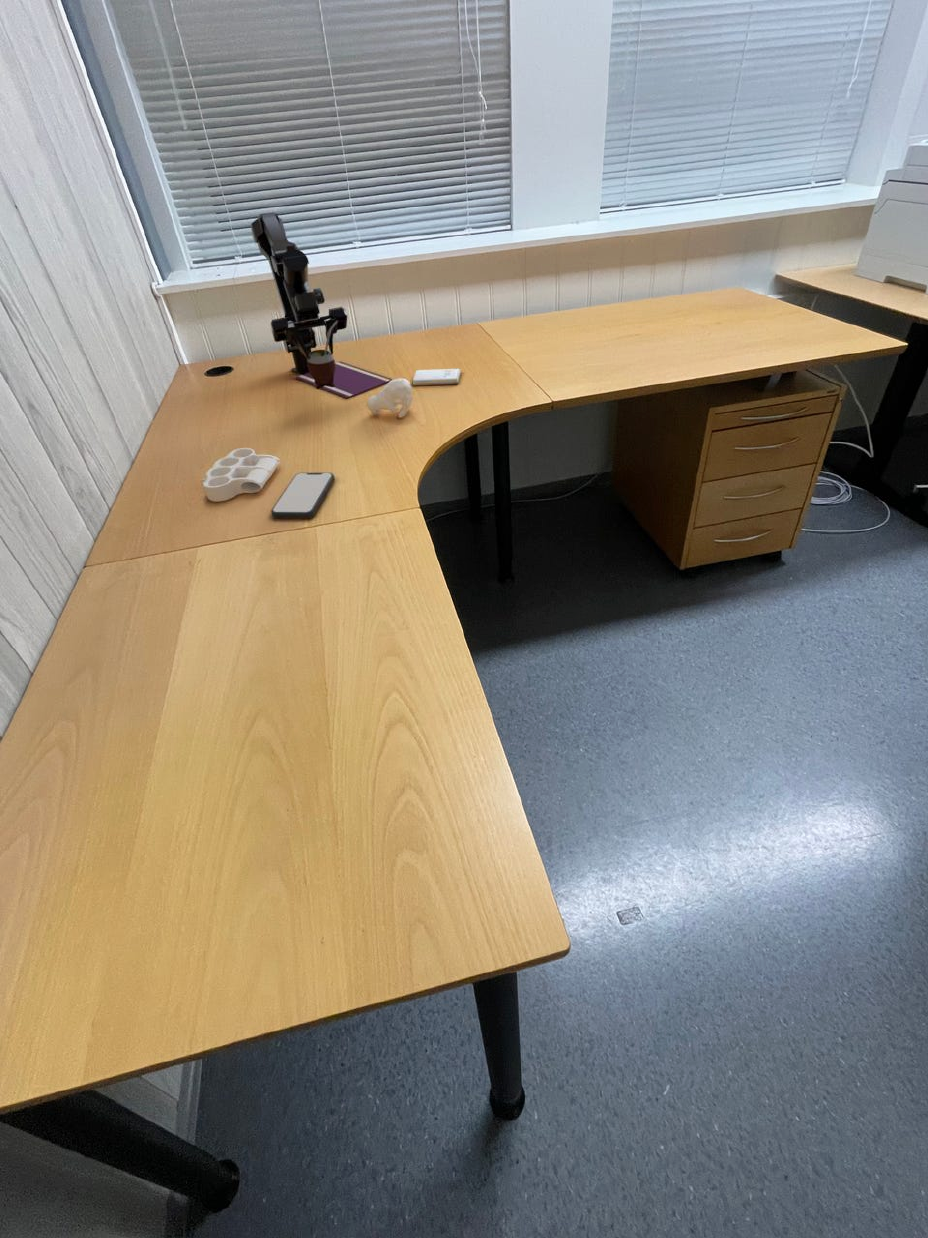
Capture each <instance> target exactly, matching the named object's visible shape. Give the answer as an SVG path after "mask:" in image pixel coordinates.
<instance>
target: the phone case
mask: <svg viewBox="0 0 928 1238" xmlns="http://www.w3.org/2000/svg"><path fill="white" fill-rule="evenodd" d="M334 481H335V474H334V473H333V472H298V473H296V474H295V475H294V476H293V477H292V479H291V481H290V482H289V484H287V487H286V488H285V489H284V491H283V492H282V494H281V495H280V497H279V499H278V500H277V501H276V503H275V504H274V506H273V507H272V509H271V511H270V512H271V515H272V517H273V518H274V519H301V520H302V519H304V520H305V519H311V518H313V517H314V516H315V515H316V513H317V511H318V509H319V508H320V506H321V504H322V503H323V501H324V499H325V497H326V495H327V494H328V492H329V490H330V489H331V487H332V485H333V483H334Z"/></svg>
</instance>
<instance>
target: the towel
mask: <svg viewBox="0 0 928 1238" xmlns="http://www.w3.org/2000/svg"><path fill="white" fill-rule="evenodd" d="M335 366H336V369H335V374H334V381H333V384H334V385H335V387H329V386H324V387H322V388H320V389H321V390H323V391H327V392H328V393H331V394H334V395H336V396H339V397H341V398H343V399H346V400H348V399H350V398H354V397H355V396H358V395H361V394H364V393H365V392H368V391H370V390H373V389H376V388H379V387H381V386H383V385H384V386H385V385H386V384H388V383H389V382H390V381H391V380H394V379H392V378H389V377H387V376H384V375H380V374H378V373H374V372H372V371H369V370H366V369H363V368H361V367H357V366H354V365H352V364H348V363H345V362H342V361H338V362H335ZM295 379H296V380H298V381H301V382H303V383H306V384H308V385H310V386H314V387H315V388H316V387H317V385H316V383H315V382H314V381H315V380H314V379H313V378H312V376H311V375H310V373H306V374H303V375H302V374H299V375H298V376H296V377H295Z"/></svg>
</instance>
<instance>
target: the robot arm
mask: <svg viewBox="0 0 928 1238" xmlns="http://www.w3.org/2000/svg"><path fill="white" fill-rule="evenodd" d="M250 229H251V230H250V231H251V236H252V238H253V241H254V243H255V244H257V248H258V250H259V252H260V254H262V255H263V257H265V258H266V259H267V261H268V264H269V268H270V270H271V274H272V277H273V281H274V284H275V288H276V290H277V294H278V296H279V297H278V298H279V300H280V301H279V302H280V304H281V307H282V311H283V314H284V317H280V318H275V319H271V321H270V327H271V328H270V330H271V334H272V337H273V340H274V342H276V343H279V342H283V345H284V349H285V351H286V352H287V353H288V354H291V356H292V359H293V363H294V367H291V371H292V372H295V373H297V374H299V375H304V374H307V373H309V370H308V367H307V359H309V353H310V352H312V351H313V350H312V349H316V348H317V339H316V331H315V330H314V329H313V328H318V327H323V326H324V327H325V337H326V338H325V339H327V333H328V331H329V329H330V328H331V326H332V325H333V324H334V323H335V322H336V321H338V322H337V324H336V325H335V326H334V327H333V329H332V330H331V334H330V337H329V343H328V349H329V350H328V351H329V352H330V353H331V354H332V355H334V334H337V333H338V331H340V330H345V329H346V328H347V327H348V326H347V325H348V314H347V311H346V309H345V308H344V307H343V306H339V307H338V306H337V307H334V308H328V315H324V316H323V315H322V316H319V314H320V312H321V311H320V308H319V305H322V304H324V303H325V302H326V300H325V295H324V293H323V290H322V287H317V288H313V291H311V289H310V286H309V284H308V281H309V264H310V262H309V258H308V257H307V255H306V254H305V253H304V252H303V251H302V250H300V249H299V248H298V246H297V245H296V243H295V242H292V241H289V239H288V237H287V236H286V235H287V232H286V230H285V226H284V223H283V219H282V218H281V217H280V216H279V214H278V213H277V212H274V211H273V212H266V213H260V214H259V215H257V219H255V220H254V221H253V222H251V223H250Z"/></svg>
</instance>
